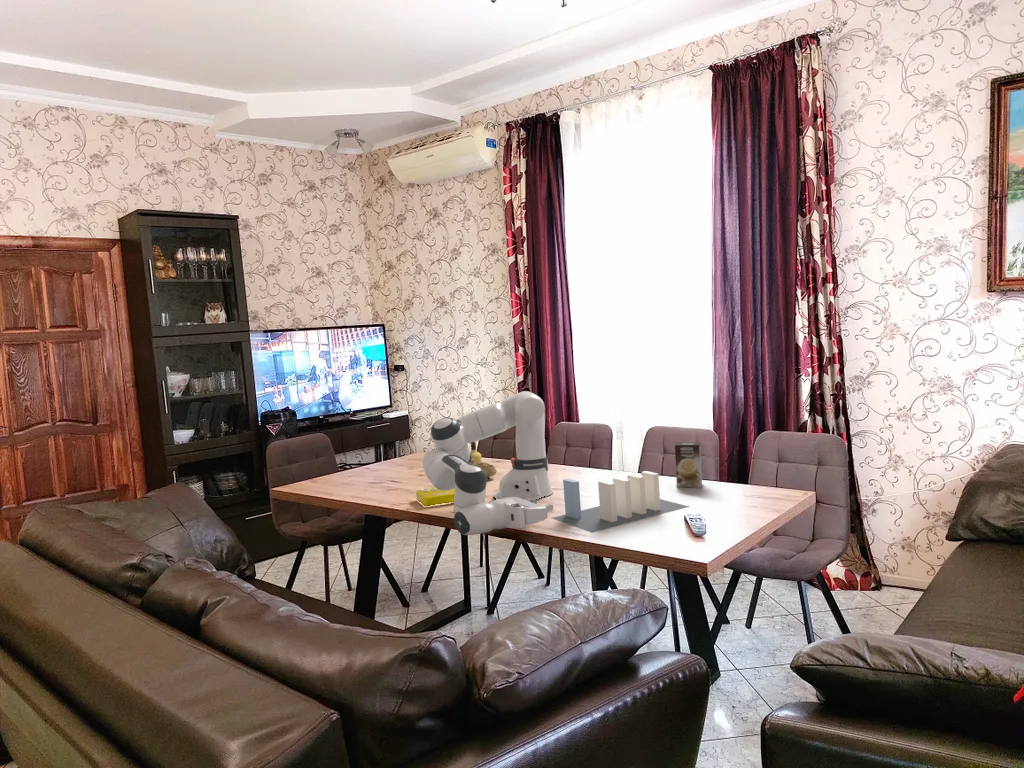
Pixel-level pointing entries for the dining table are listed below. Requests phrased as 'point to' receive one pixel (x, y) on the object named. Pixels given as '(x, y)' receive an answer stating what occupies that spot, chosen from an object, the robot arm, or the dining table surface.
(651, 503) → the domino
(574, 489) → the blue domino
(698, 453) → the coffee box
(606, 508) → the domino
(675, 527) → the dining table surface
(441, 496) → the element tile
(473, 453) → the handbell
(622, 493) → the domino
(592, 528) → the rubber mat
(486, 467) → the oil lamp
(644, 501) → the domino
